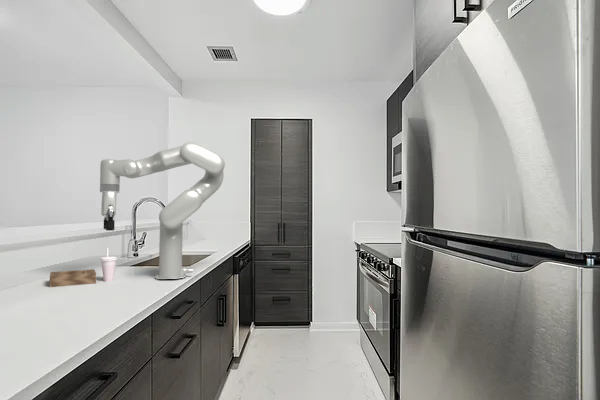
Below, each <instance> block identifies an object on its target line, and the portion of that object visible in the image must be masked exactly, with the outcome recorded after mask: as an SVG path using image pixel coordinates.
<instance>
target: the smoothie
mask: <svg viewBox="0 0 600 400" xmlns="http://www.w3.org/2000/svg"><path fill="white" fill-rule="evenodd" d="M117 260H118V257H117V256H109V247H106V256H104V257H103V256H101V257H100V262H101V268H102V279H103V282H106V283H107V282H113V281H115V279H114V278H115V272H116V265H117Z"/></svg>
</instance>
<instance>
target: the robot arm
mask: <svg viewBox="0 0 600 400" xmlns="http://www.w3.org/2000/svg"><path fill="white" fill-rule="evenodd" d="M186 165H187V166H188V165H195V167H198V168H200V169H202V170H204V172H205V173H204V175H203V177H202V178H201V179H199V180H198V181H197V182H195V184H194V185H192V186H191V187H190V188H188V189H186V190H184V191H182V192H181V193H180V194H179V195H178V196H177V197H175V198H174V199H173V200H172V201H171V202H169V203H168V204H167V205H166V206H164V207H163V208H162V209H161V210H160V212H159V214H158V220H159V245H158V247H159V249H158V250H159V251H158V252H159V254H158V255H159V256H158V257H159V258H158V259H159V260H158V274H156V275H155V276H154V278H156V279H155V280H157V279H175V278H180V277H184V276H185V277H186V274H189V273H190V274H192V273H194V269H193V268H192V267H191V268H187V267H183V227H184V226H183V225H184V224H183V223H184V222H185V221H186V220H187V219H189V217H191V216H192V215H194V214H195V213H196V212H197V211H198V210H199V209H200V208H201V207H202V206H203V204H204V203H205V202H206V201H207V200H209V198H210V197H212V196H213V195H214V194H215V193H216V192H217V191H218V190H219V189H220V187H221V186H222V184H223V181H224V174H225V173H224V169H225V166H226V164H225V160H224V158H223V157H222V156H220V155H219V154H217V153H216V152H213V151H212V150H209V149H207V148H205V147H203V146H201V145H200V144H199V143H196V142H193V141H188V142H184V143H183V145H180V146H176V147H171V148H168V149H162V150H160V151H157V152H156V153H154V154H153V155H151V156H148V157H144V158H141V159H137V160H133V159H119V160H118V159H111V158H110V159H109V158H108V159H107V158H106V159H105V158H104V159H102V160H100V167H99V169H100V170H99V171H100V175H99V176H100V177H99V193H102V194H101V210H100V212H101V213H100V215H101V216H103V229H104V230H105V231H115V223H116V222H115V216H116V215H117V194H118V193H119V194H120V188H121V187H120V184H121V183H120V182H121V181H120V180H121V177H125V178H128V179H136V178H141V177H144V176H148V175H152V174H155V173H161V172H164V171H168V170H172V169H175V168H180V167H183V166H186Z"/></svg>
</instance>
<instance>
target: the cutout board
mask: <svg viewBox="0 0 600 400" xmlns="http://www.w3.org/2000/svg"><path fill="white" fill-rule="evenodd" d="M91 284H97V273H96V270H95V269H92V268H91V269H79V270H77V269H76V270H61V271H50V274H49V287H50V288H53V287H66V286H77V285H78V286H80V285H91Z"/></svg>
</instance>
